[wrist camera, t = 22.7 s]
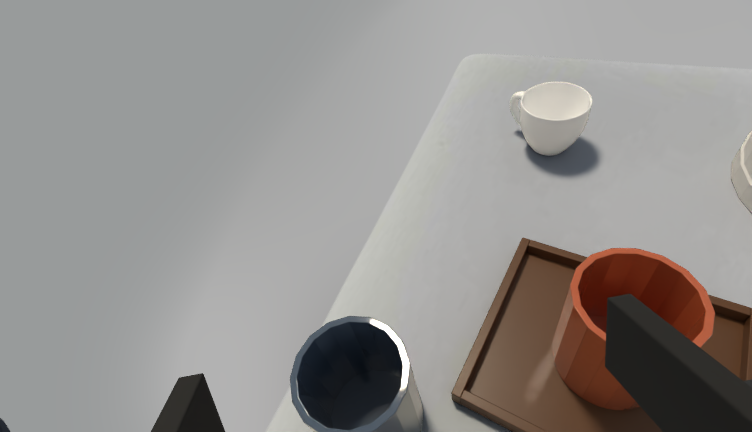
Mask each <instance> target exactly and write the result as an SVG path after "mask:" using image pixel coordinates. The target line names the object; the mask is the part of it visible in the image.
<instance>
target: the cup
mask: <svg viewBox="0 0 752 432" xmlns="http://www.w3.org/2000/svg"><path fill="white" fill-rule="evenodd" d="M519 99H520V100H521V103H520V110H519V108H518V100H519ZM591 107H592V97H591V95H590V94H589V93H588V92H587V91H586V90H585V89H583V88H582V87H580V86H577V85H574V84H571V83H566V82H547V83H542V84H538V85H536V86H533V87H531V88H530V89H528V90H527V91H526V92H522V91H519V92H516V93H515V94H514V95H513V96H512V97H511V100H510V111H511V113H512V116H513V117H514V119H515V121H516V122H517V123H518V125H519V126H520V127H521V130H522V133H523V135H524V137H525V139H526V141H527V143H528V144H529V145H530V147H531V148H532V149H533V150H534V151H535V152H537V153H539V154H542V155H547V156H551V155H557V154H559V153H561V152H563V151H564V150H566V149H567V148H568V147H570V146H571V145H572V144H573V143H574V142H575V141H576V140H577V139H578V137H579V136H580V135H581V133H582V132H583V130H584V128H585V126H586V124H587V121H588V118H589V115H590V111H591Z"/></svg>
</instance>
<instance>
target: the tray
mask: <svg viewBox="0 0 752 432" xmlns="http://www.w3.org/2000/svg"><path fill="white" fill-rule="evenodd" d="M587 258H588V257H584V256H581V255H578V254H575V253H571V252H568V251H565V250H562V249H558V248H555V247H552V246H549V245H545V244H542V243H539V242H536V241H533V240H529V239H526V238H522V240H521V242H520V244H519V246H518V248H517V251H516V253H515V255H514V257H513V259H512V262H511V264H510V266H509V268H508V270H507V272H506V275H505V277H504V279H503V281H502V283H501V286H500V288H499V290H498V292H497V294H496V297H495V299H494V301H493V303H492V305H491V307H490V310H489V312H488V314H487V316H486V318H485V321H484V323H483V325H482V327H481V329H480V332H479V334H478V336H477V338H476V340H475V342H474V345H473V347H472V349H471V351H470V353H469V356H468V358H467V360H466V362H465V364H464V367H463V369H462V371H461V373H460V375H459V377H458V380H457V382H456V384H455V386H454V388H453V391H452V400H453V401H455V402H457V403H459V404H461V405H463V406H465V407H466V408H468V409H470V410H472V411H474V412H476V413H478V414H480V415H482V416H484V417H486V418H487V419H489V420H491V421H493V422H495V423H497V424H499V425H501V426H503V427H505V428H506V429H508V430H510V431H512V432H663V431H662V430H661V429H660V428H659V427H658V426H657V425H656V423H655V422H654V421H653V420H652V419H651V418H650V417H649V416H648V414H647V413H646V412H645V411H644V410H643V409H642V408H641V407H638V408H634V409H630V410H612V409H606V408H603V407H599V406H597V405H594V404H592V403H590V402H588V401H586V400H584V399H583V398H581V397H580V396H578V395H577V394H576V393H575V392H573V391H572V390H571V389H570V388H569V387H568V386H567V385H566V383H565V382H564V381H563V380H562V378H561V377H560V375H559V373H558V371H557V369H556V367H555V364H554V361H553V357H552V341H553V338H554V335H555V332H556V328H557V325H558V322H559V319H560V316H561V313H562V309H563V306H564V303H565V300H566V297H567V294H568V290H569V287H570V284H571V281H572V278H573V276H574V273H575V270H576V268H577V267H578V266H579V265H580V264H581V263H582V262H583V261H585V260H586V259H587ZM708 296H709V299H710V301H711V304H712V306H713V308H714V311H715V318H714V326H713V334H712V336H711V337H710V338H709V339H708V340H707V341H706V342H705V343H704V344H703V346H702V347H701V349H703V350H704V351H705V352H706V353H708V354H709V355H710V356H712V357H713V358H714V359H715V360H717V361H718V362H719V363H721V364H722V365H723V366H724V367H726V368H727V369H728V370H730V371H731V372H732V373H733V374H735V375H736V376H737V377H739V378H740V379H741V380H743V381H746V380H751V379H752V308H749V307H746V306H743V305H740V304H737V303H733V302H730V301H727V300H724V299H720V298H717V297H714V296H711V295H708Z"/></svg>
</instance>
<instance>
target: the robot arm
mask: <svg viewBox="0 0 752 432" xmlns="http://www.w3.org/2000/svg"><path fill="white" fill-rule="evenodd" d="M605 367H606V368H607V369H608V371H609V372H610V373H611V374H612V375H613V376H614V377H615V378H616V380H617V381H618V382H619V383H620V384H621V385H622V386H623V387H624V389H625V390H626V391H627V392H628V393H629V394H630V395H631V396H632V398H633V399H634V400H635V401H636V402H637V403H638V404H639V405H640V407H641V408H642V409H643V410H644V411H645V412H646V413H647V414H648V416H649V417H650V418H651V419H652V420H653V421H654V422H655V423H656V425H657V426H658V427H659V428H660V429H661V430H662V431H663V432H752V379H751V380H746V381H743V380H741V379H740V378H739V377H737V376H736V375H735V374H733V373H732V372H731V371H730V370H728V369H727V368H726V367H724V366H723V365H722V364H721V363H719V362H718V361H717V360H715V359H714V358H713V357H712V356H710V355H709V354H708V353H706V352H705V351H704V350H703V349H701V348H700V347H699V346H697V345H696V344H695V343H694V342H692V341H691V340H690V339H688V338H687V337H686V336H684V335H683V334H682V333H681V332H679V331H678V330H677V329H675V328H674V327H673V326H672V325H670V324H669V323H668V322H666V321H665V320H664V319H663V318H661V317H660V316H659V315H657V314H656V313H655V312H654V311H652V310H651V309H650V308H648V307H647V306H646V305H645V304H643V303H642V302H641V301H639V300H638V299H637V298H636V297H634V296H633V295H632V294H625V295H620V296H615V297H609V298H607V322H606V349H605ZM151 432H225V430H224V427H223V425H222V423H221V420H220V417H219V414H218V412H217V409H216V406H215V404H214V401H213V398H212V396H211V393H210V391H209V388H208V385H207V383H206V380H205V377H204V374H203V373H202V374H197V375H191V376H186V377H181V378H179V379H178V381H177V383H176V384H175V386H174V388H173V390H172V392H171V394H170V396H169V398H168V400H167V402H166V404H165V406H164V408H163V410H162V412H161V413H160V415H159V417H158V419H157V421H156V423H155V425H154V427H153V429H152V431H151Z"/></svg>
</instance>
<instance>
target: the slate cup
mask: <svg viewBox="0 0 752 432" xmlns="http://www.w3.org/2000/svg"><path fill="white" fill-rule="evenodd" d="M290 384H291V394H292V402H293V404H294V406H295V408H296V410H297V411H298V413H299V415H300V417H301V418H302V420H303V422H304V423H305V424H306V425H307V426H308V427H309V428H310V429H311V430H312V431H313V432H421V430H422V424H423V406H422V403H421V400H420V396H419V393H418V389H417V386H416V382H415V379H414V376H413V372H412V369H411V365H410V362H409V359H408V356H407V352H406V349H405V346H404V343H403V341H402V340H401V339H400V338H399V337H398V336H397V335H396V333H395V332H394V331H393V330H392V329H391V328H390V327H389V326H388V325H386V324H384V323H381V322H379V321H377V320H375V319H373V318H371V317H358V316H347V317H344V318H341V319H338V320H335V321H331V322H329V323H327V324H325V325H324V326H323V327H321V328H320V329H319V330H317V331H316V332H315V333H313V334H312V335H311V336H310V337H309V338H308V339H307V341H306V342H305V344H304V345H303V346H302V348H301V349H300V351H299V352H298V354H297V356H296V358H295V362H294V365H293V369H292V373H291V376H290Z"/></svg>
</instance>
